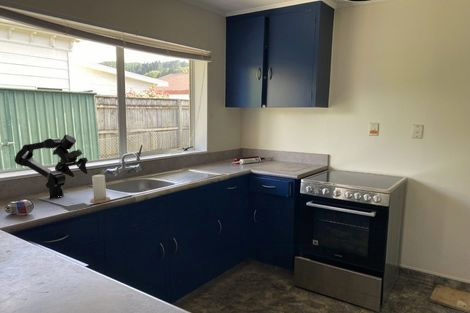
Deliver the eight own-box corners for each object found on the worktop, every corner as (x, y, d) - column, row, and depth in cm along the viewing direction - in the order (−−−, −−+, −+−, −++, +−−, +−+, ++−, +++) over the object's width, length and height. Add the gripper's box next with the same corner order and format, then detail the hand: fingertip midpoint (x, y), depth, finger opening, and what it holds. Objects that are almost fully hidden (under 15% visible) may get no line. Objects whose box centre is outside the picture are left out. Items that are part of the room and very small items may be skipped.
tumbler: (95, 201, 181) (93, 177, 179) (92, 198, 186) (90, 175, 184) (108, 199, 184) (106, 175, 183) (104, 196, 190) (102, 174, 188)
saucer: (89, 204, 179) (88, 202, 179) (92, 199, 189) (92, 197, 189) (109, 202, 181) (108, 200, 181) (111, 198, 191) (111, 196, 191)
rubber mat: (61, 207, 173) (61, 207, 173) (83, 203, 181) (83, 202, 181) (69, 212, 165) (69, 211, 165) (91, 207, 173) (91, 206, 173)
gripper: (56, 147, 181) (73, 168, 178) (84, 143, 198) (100, 163, 195) (47, 161, 185) (64, 182, 182) (75, 156, 202) (90, 175, 199)
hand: (80, 175), depth 190 cm, fingers open, 9 cm apart
